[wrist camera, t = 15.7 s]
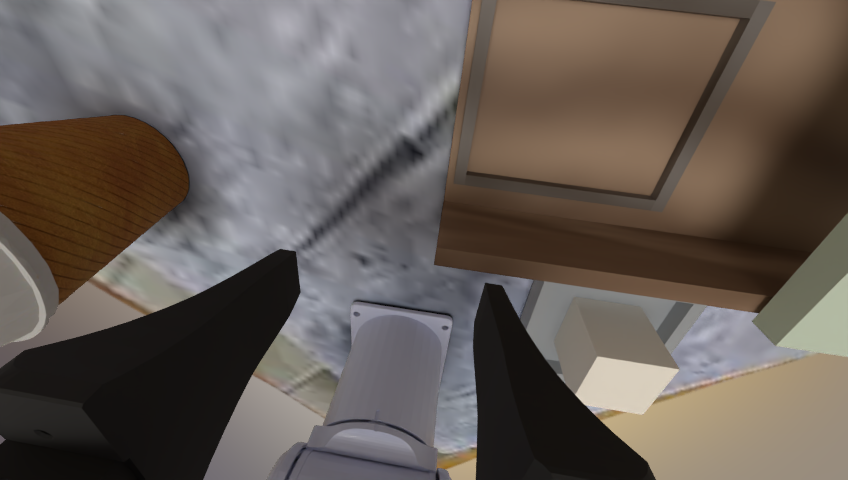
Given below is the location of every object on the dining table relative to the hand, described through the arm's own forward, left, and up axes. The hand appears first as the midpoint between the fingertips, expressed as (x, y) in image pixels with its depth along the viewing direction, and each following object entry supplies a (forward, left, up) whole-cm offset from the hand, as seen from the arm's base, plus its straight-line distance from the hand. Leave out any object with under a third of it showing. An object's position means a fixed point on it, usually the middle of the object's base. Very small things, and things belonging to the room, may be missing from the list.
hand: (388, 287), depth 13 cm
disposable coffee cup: (-1, +18, -10) cm, 21 cm away
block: (-8, -14, -9) cm, 18 cm away
